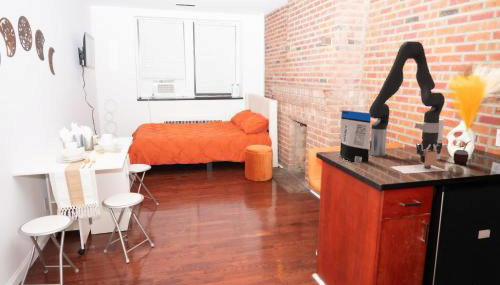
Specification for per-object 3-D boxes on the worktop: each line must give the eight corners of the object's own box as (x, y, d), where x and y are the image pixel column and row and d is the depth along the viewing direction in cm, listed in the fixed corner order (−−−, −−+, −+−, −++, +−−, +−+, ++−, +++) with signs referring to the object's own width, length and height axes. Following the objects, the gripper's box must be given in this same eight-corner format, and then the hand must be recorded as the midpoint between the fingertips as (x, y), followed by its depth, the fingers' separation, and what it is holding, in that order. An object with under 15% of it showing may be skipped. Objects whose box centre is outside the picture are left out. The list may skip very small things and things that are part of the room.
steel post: (426, 168, 172) (427, 158, 171) (422, 167, 175) (423, 157, 174) (432, 168, 173) (433, 158, 172) (427, 166, 176) (428, 157, 175)
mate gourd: (453, 162, 190) (456, 137, 187) (469, 164, 185) (472, 138, 182) (451, 165, 184) (454, 139, 181) (468, 167, 179) (471, 140, 176)
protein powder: (362, 165, 186) (364, 114, 181) (334, 157, 208) (335, 110, 202) (374, 163, 190) (377, 112, 184) (345, 155, 212) (347, 109, 206)
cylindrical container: (425, 160, 195) (428, 119, 190) (428, 158, 200) (431, 118, 195) (438, 162, 190) (442, 120, 185) (441, 159, 195) (445, 118, 190)
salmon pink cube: (426, 165, 170) (427, 152, 169) (419, 162, 176) (420, 150, 174) (436, 164, 171) (437, 151, 170) (429, 162, 177) (430, 149, 175)
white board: (403, 176, 165) (403, 173, 165) (389, 169, 178) (389, 166, 178) (445, 173, 169) (446, 170, 169) (428, 166, 181) (429, 164, 181)
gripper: (437, 129, 175) (435, 159, 178) (413, 130, 173) (411, 161, 176) (448, 131, 167) (445, 163, 171) (422, 132, 165) (420, 164, 169)
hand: (427, 161), depth 173 cm, fingers closed on salmon pink cube, 5 cm apart
